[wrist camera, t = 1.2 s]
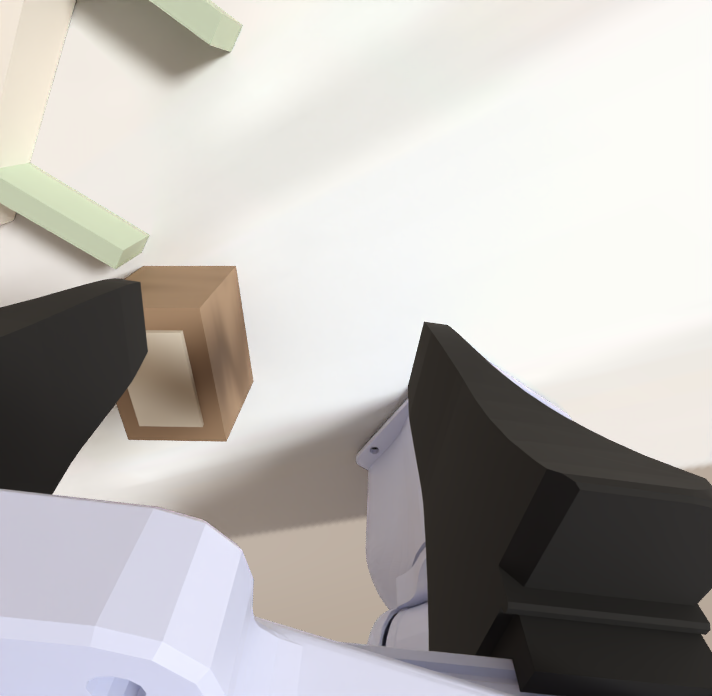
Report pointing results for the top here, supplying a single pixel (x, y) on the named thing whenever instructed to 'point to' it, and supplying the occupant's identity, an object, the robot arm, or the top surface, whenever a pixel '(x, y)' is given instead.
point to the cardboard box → (189, 356)
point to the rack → (26, 109)
